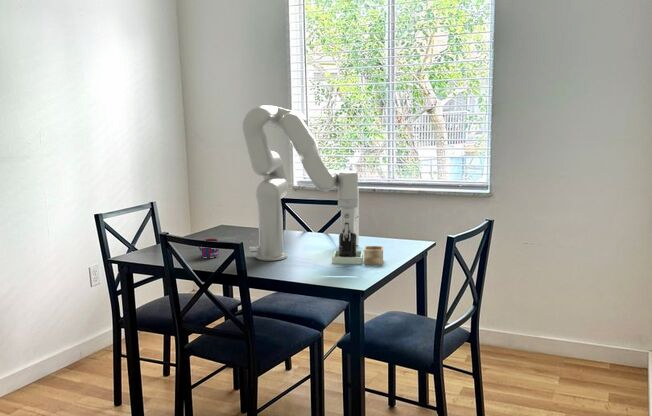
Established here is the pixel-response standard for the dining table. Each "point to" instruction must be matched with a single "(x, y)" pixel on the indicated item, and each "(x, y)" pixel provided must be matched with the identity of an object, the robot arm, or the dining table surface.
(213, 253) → the mug
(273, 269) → the dining table surface
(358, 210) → the cylindrical container
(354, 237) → the supplement bottle
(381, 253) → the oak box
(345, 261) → the tray
